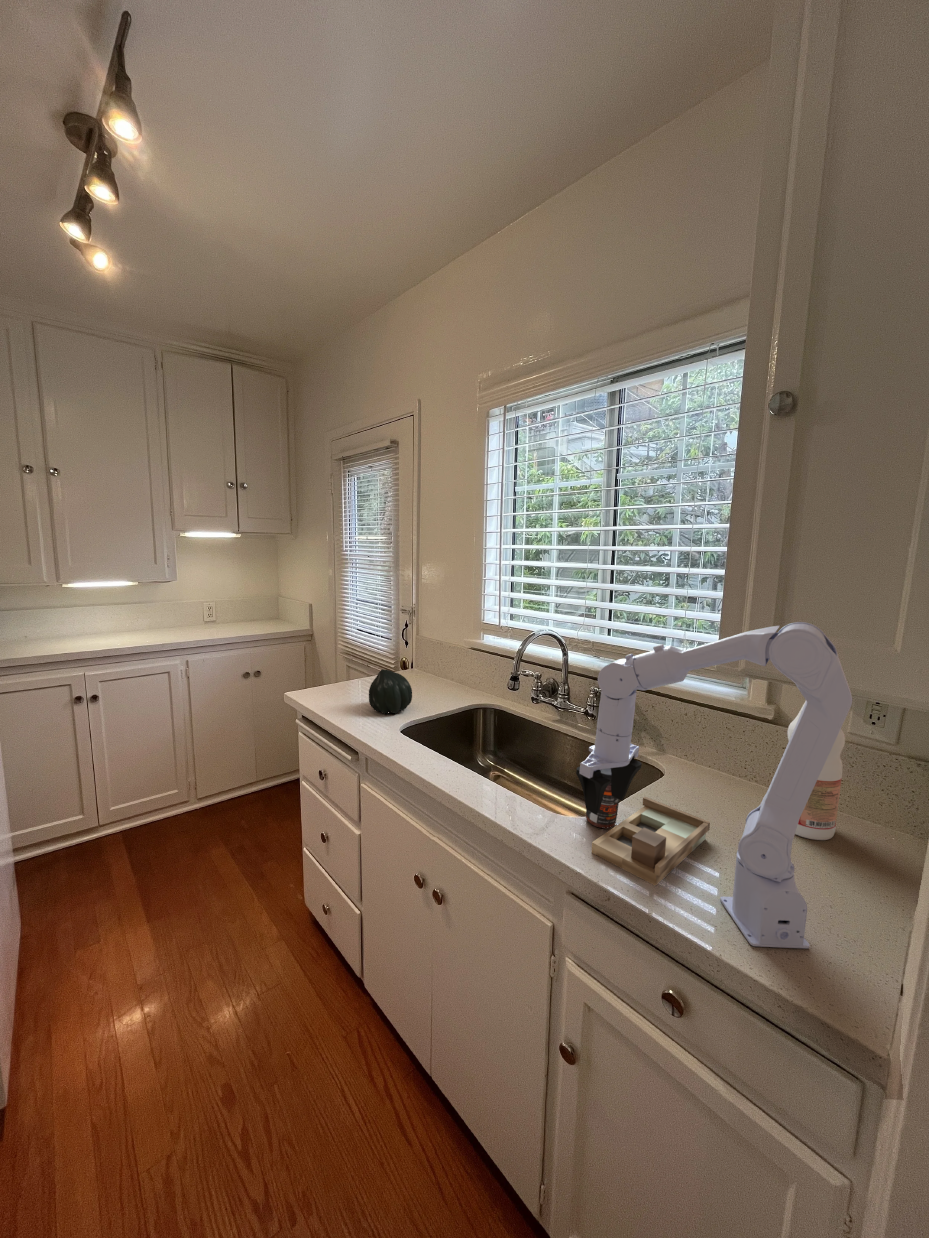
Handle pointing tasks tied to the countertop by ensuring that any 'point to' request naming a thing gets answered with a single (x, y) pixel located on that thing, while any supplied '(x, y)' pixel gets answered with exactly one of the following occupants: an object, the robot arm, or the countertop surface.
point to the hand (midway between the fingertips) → (605, 804)
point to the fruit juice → (822, 794)
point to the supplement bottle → (605, 807)
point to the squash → (390, 692)
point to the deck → (661, 819)
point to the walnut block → (648, 847)
